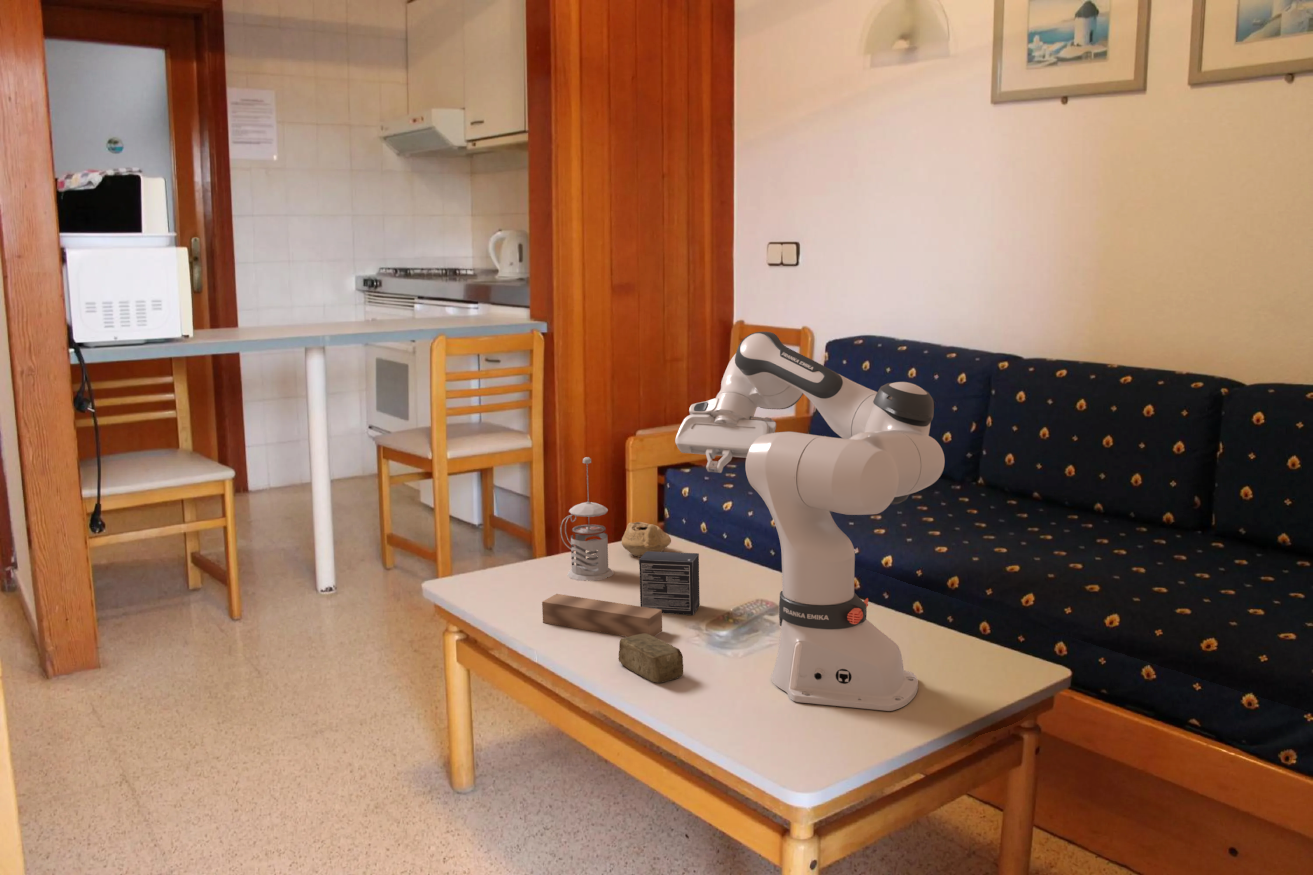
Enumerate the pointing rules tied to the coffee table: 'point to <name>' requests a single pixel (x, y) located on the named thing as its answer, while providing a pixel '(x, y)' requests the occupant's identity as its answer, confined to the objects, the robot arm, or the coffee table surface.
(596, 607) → the batten
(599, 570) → the french press
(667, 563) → the small box
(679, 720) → the coffee table surface
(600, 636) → the coffee table surface
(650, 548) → the oil lamp
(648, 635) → the stone block
